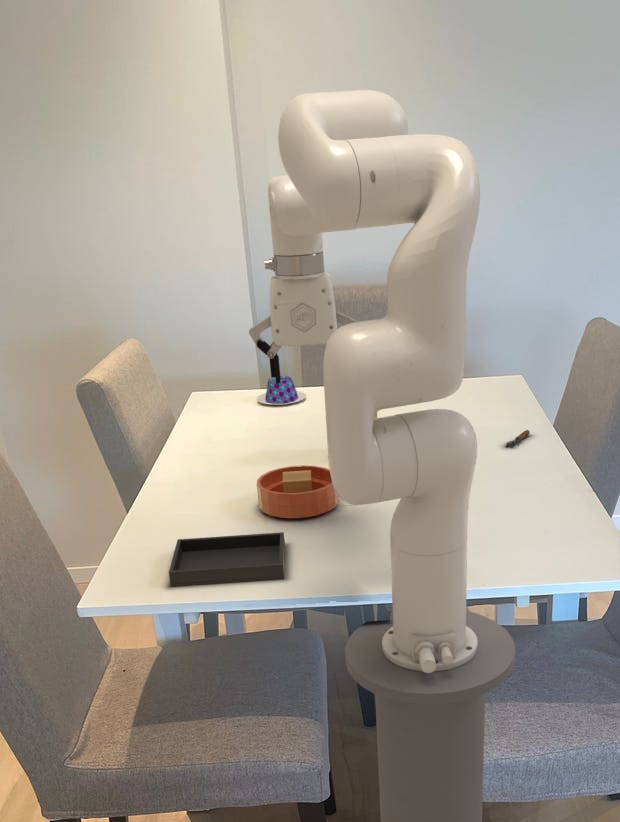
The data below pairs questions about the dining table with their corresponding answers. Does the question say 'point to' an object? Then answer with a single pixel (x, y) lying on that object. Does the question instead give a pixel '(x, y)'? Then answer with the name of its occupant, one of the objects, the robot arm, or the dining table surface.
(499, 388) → the dining table surface
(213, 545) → the pan
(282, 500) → the bowl
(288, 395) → the pudding
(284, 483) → the block
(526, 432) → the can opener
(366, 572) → the dining table surface
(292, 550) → the dining table surface
